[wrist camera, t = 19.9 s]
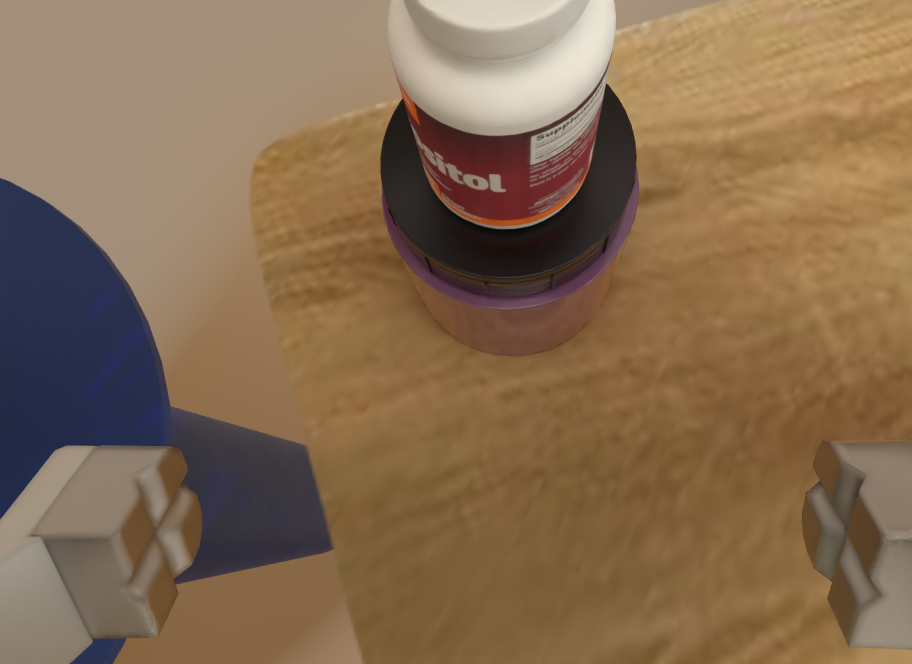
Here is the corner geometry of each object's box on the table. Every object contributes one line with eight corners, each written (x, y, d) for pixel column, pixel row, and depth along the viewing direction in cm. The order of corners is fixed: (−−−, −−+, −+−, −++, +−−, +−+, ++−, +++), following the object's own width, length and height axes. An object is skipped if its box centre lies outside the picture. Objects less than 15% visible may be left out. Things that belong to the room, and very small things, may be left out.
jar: (422, 366, 38) (380, 310, 27) (407, 179, 41) (363, 61, 30) (627, 344, 37) (667, 278, 27) (599, 154, 40) (625, 25, 29)
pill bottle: (390, 155, 28) (306, -61, 17) (511, 52, 29) (502, -220, 18) (501, 269, 27) (483, 110, 16) (627, 159, 27) (691, -67, 17)
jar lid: (399, 310, 29) (388, 292, 27) (384, 93, 32) (372, 60, 29) (644, 283, 29) (654, 263, 26) (610, 64, 31) (617, 27, 28)
